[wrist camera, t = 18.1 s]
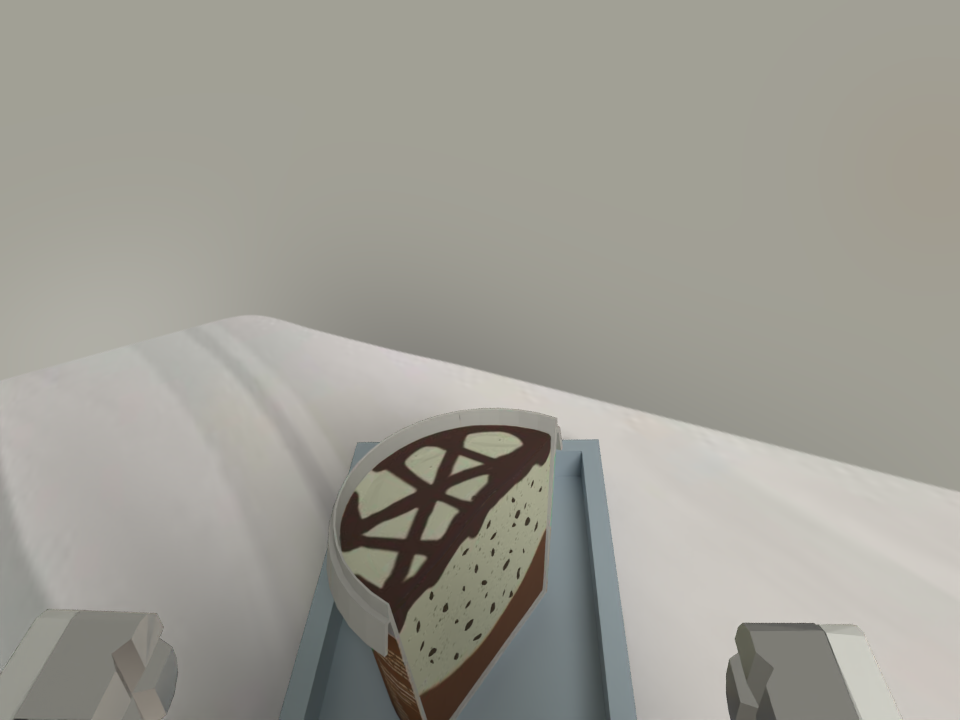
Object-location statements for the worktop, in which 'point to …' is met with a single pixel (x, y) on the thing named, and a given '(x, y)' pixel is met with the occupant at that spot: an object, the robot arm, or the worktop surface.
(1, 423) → the worktop surface
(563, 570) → the tray
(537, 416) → the food container
